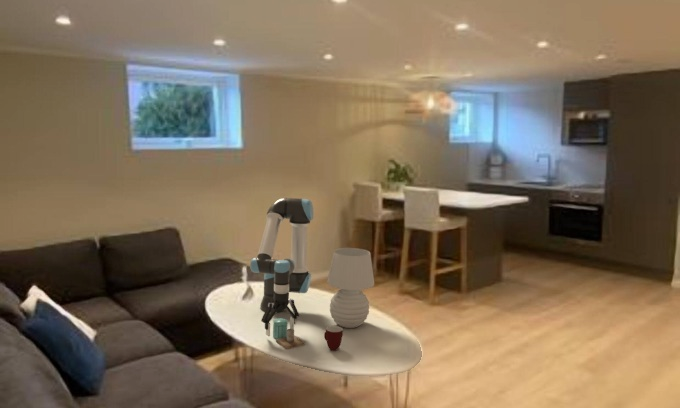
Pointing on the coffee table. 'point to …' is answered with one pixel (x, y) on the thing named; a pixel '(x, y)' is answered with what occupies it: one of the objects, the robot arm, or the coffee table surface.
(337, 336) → the mug
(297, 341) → the post base
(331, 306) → the table lamp
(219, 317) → the coffee table surface
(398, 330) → the coffee table surface
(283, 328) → the cap
